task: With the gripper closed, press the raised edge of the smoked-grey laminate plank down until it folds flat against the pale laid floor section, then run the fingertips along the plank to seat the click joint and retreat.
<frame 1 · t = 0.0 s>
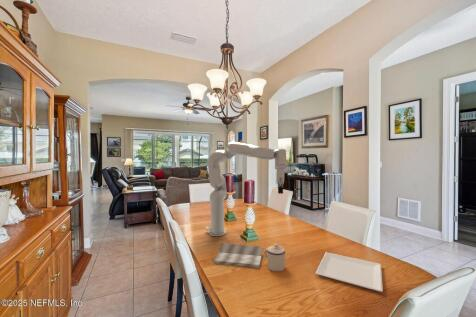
hand: (280, 192, 147), 31 cm above the table, fingers open, 9 cm apart
plank: (240, 250, 124), point 2 cm above the table, hinge at 28.0°
teacup with lid: (273, 266, 110), on the table
plate: (349, 272, 105), on the table
floor section: (238, 260, 116), on the table
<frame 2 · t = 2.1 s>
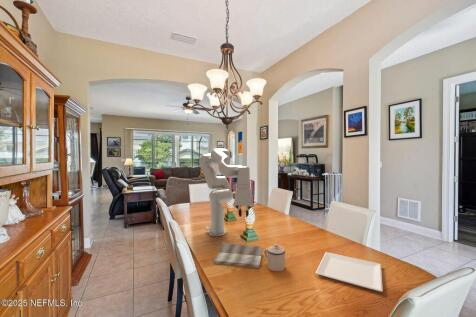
hand: (243, 216, 133), 19 cm above the table, fingers open, 3 cm apart
nothing on the table moved.
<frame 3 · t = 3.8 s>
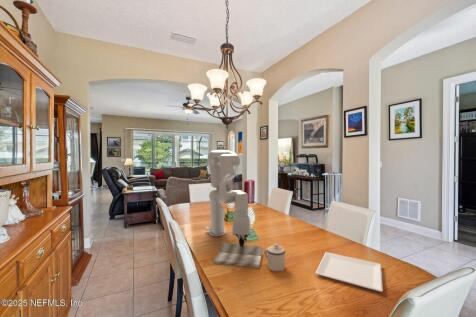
hand: (241, 245, 126), 4 cm above the table, fingers closed
plank: (240, 250, 124), point 2 cm above the table, hinge at 28.0°, touching gripper
everything else where it was.
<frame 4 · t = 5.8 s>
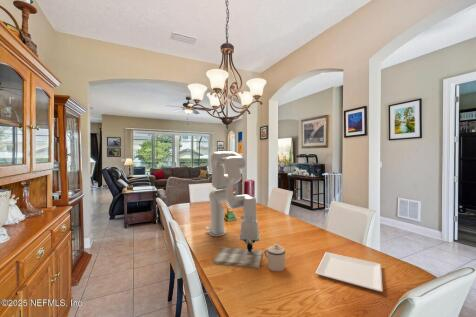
hand: (249, 250, 124), 2 cm above the table, fingers closed
plank: (240, 252, 124), point 1 cm above the table, hinge at 1.5°
everything else where it was.
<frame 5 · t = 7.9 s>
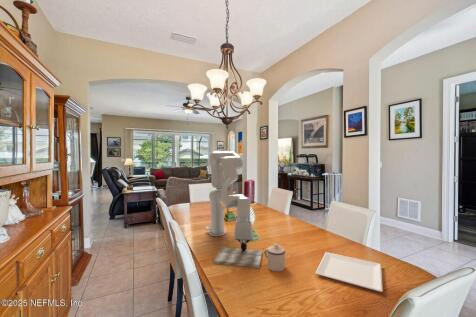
hand: (243, 250, 125), 2 cm above the table, fingers closed
nothing on the table moved.
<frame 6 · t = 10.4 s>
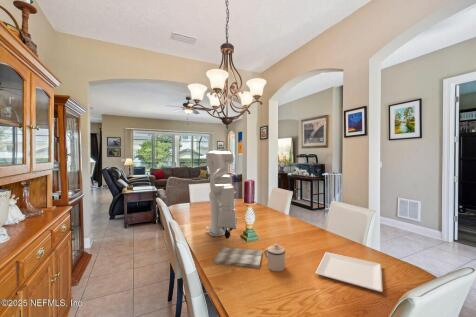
hand: (227, 237, 128), 8 cm above the table, fingers closed
nothing on the table moved.
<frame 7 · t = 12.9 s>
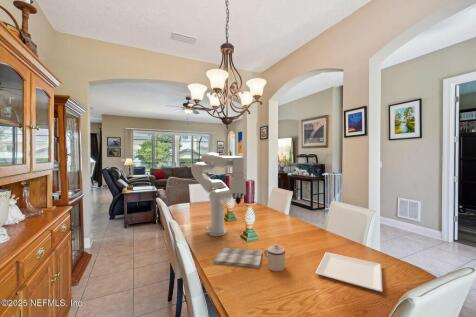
hand: (238, 203, 141), 25 cm above the table, fingers closed
nothing on the table moved.
at the end: plank at +2° (first picture: +28°) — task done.
